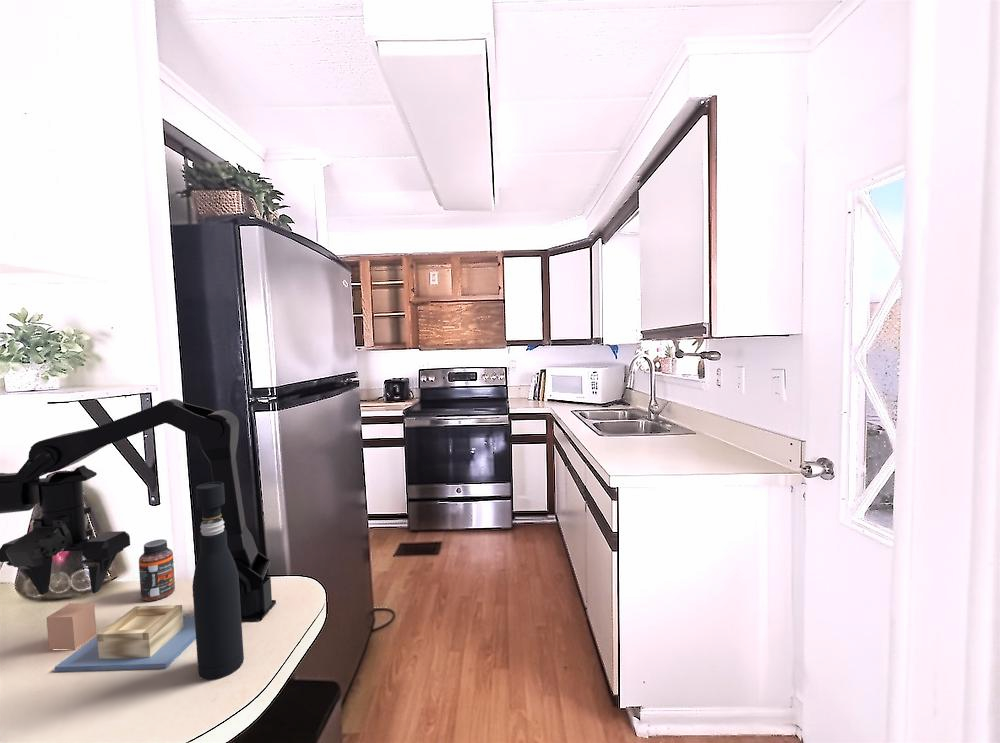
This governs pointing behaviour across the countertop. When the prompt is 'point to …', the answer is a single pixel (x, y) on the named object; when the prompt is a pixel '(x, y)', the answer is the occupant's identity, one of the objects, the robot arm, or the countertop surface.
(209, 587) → the black insulated water bottle
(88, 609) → the terracotta block
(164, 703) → the countertop surface
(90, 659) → the mat
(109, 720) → the countertop surface
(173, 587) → the supplement bottle
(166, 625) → the open wooden box
